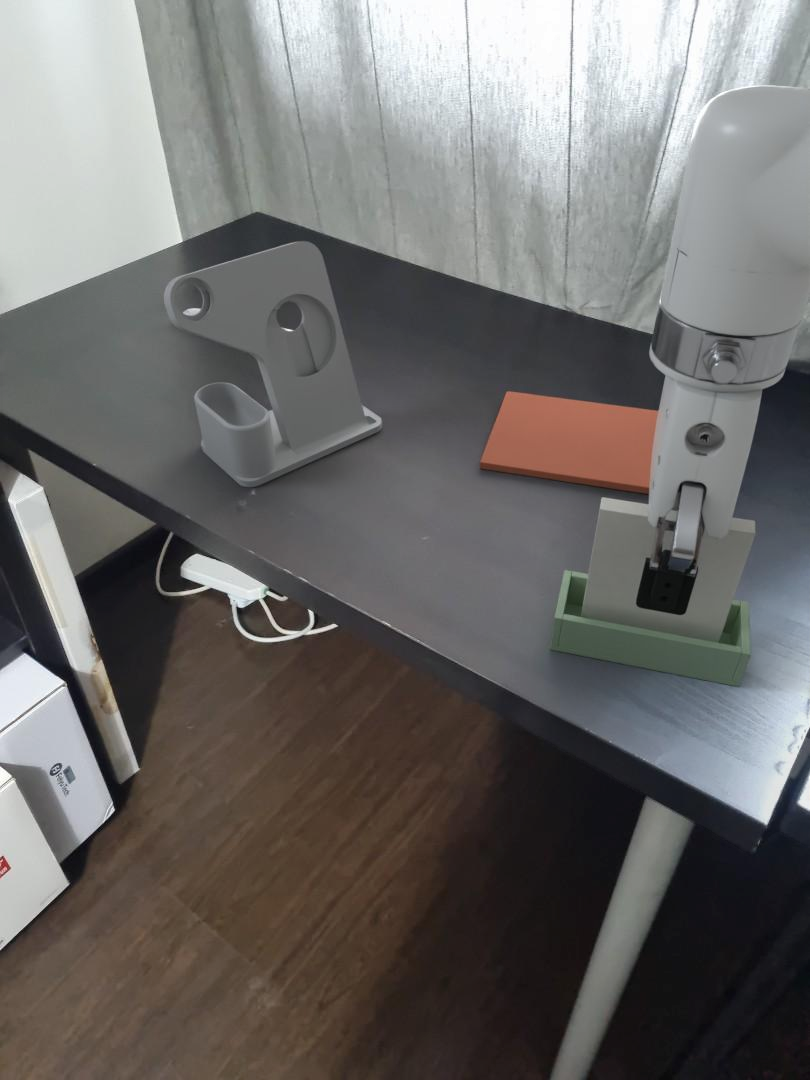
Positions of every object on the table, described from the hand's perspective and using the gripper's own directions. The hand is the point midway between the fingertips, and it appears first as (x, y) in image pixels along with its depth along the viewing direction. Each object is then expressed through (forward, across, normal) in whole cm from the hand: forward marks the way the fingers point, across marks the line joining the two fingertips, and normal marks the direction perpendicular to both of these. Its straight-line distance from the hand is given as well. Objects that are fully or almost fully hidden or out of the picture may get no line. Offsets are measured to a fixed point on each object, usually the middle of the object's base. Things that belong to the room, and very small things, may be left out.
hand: (663, 563), depth 58 cm
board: (+8, 0, 0) cm, 8 cm away
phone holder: (+8, +20, +37) cm, 43 cm away
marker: (+9, +40, +52) cm, 66 cm away
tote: (+8, 0, 0) cm, 8 cm away
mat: (+8, +26, +7) cm, 28 cm away
